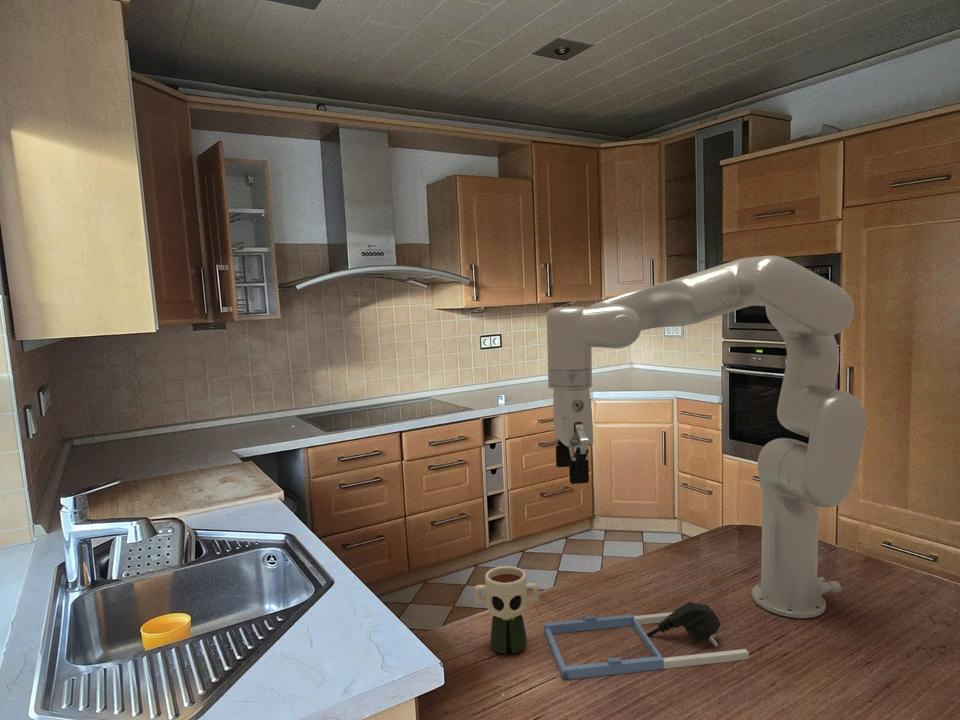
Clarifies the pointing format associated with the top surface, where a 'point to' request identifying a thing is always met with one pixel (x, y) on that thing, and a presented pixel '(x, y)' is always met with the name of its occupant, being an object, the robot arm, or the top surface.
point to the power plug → (692, 622)
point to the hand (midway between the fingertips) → (571, 474)
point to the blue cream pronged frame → (629, 665)
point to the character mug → (507, 606)
